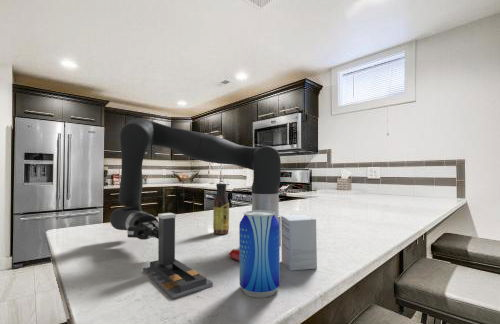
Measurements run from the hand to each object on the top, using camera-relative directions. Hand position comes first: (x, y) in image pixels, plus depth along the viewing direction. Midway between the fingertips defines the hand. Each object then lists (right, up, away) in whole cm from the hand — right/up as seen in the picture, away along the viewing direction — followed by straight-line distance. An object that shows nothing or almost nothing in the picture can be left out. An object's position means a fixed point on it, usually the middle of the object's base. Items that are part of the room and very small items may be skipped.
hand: (162, 235), depth 66 cm
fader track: (+5, -8, -6) cm, 12 cm away
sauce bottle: (+11, -10, +37) cm, 40 cm away
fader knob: (+2, -7, -2) cm, 8 cm away
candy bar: (+23, -9, +3) cm, 25 cm away
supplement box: (+35, -9, +2) cm, 36 cm away
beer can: (+24, -8, -12) cm, 29 cm away
